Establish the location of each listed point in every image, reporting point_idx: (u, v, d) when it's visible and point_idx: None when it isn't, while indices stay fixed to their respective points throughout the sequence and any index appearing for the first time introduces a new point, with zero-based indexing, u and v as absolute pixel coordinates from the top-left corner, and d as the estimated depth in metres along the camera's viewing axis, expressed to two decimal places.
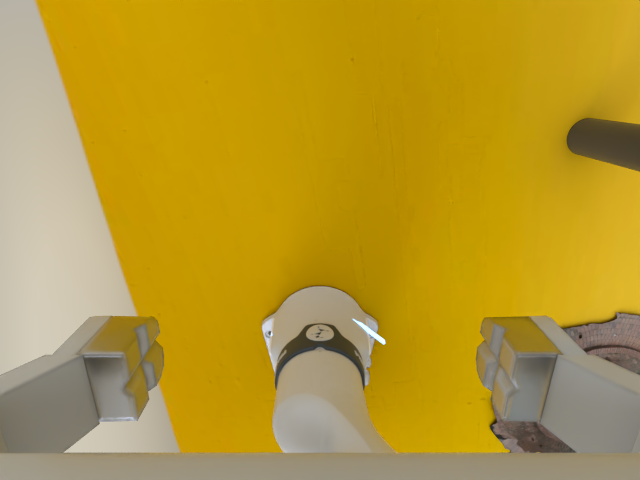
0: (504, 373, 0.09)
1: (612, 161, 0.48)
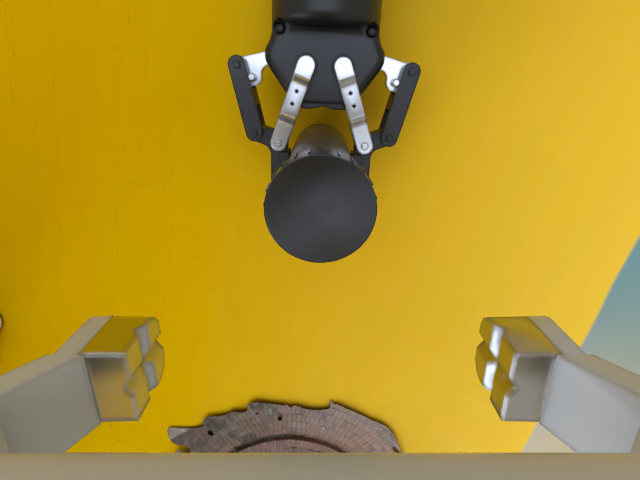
0: (503, 373, 0.09)
1: None
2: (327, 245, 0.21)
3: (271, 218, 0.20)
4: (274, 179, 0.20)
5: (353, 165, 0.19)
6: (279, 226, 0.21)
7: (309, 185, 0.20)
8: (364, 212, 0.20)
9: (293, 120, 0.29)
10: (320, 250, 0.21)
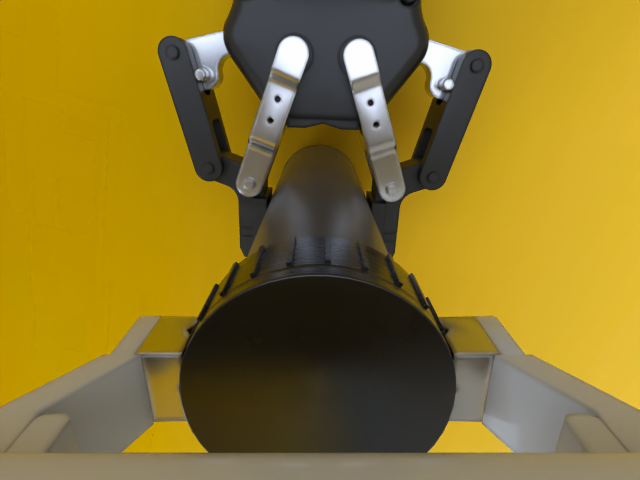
0: None
1: None
2: None
3: (199, 413, 0.08)
4: (200, 331, 0.08)
5: (403, 299, 0.07)
6: (219, 428, 0.09)
7: (288, 345, 0.08)
8: (424, 401, 0.08)
9: (273, 148, 0.17)
10: None
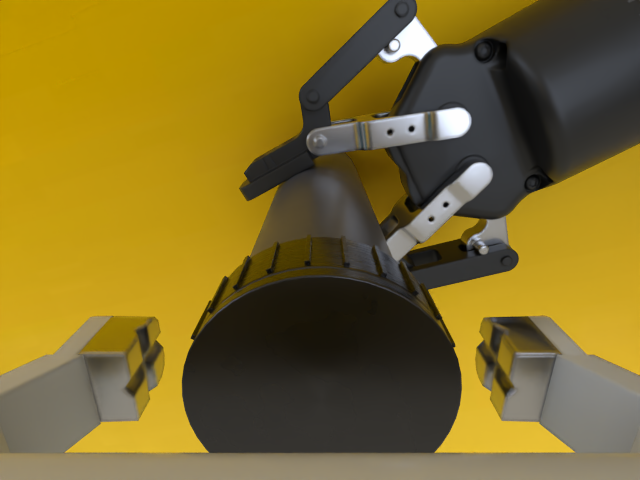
0: (503, 373, 0.09)
1: (274, 199, 0.18)
2: None
3: (224, 451, 0.09)
4: (185, 378, 0.08)
5: (349, 279, 0.07)
6: None
7: (268, 362, 0.08)
8: (425, 366, 0.08)
9: (366, 147, 0.17)
10: None
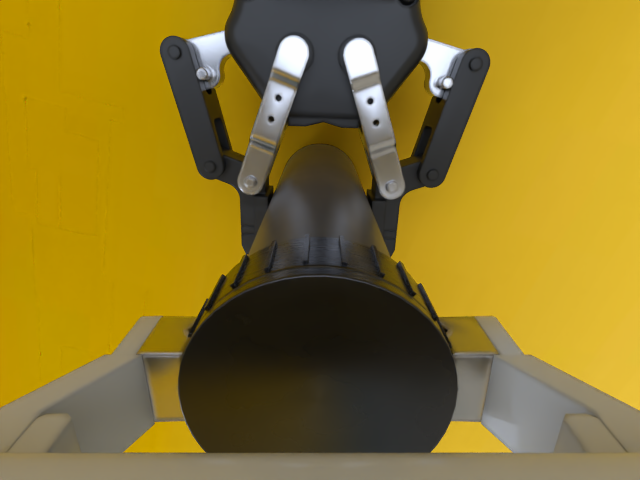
0: None
1: None
2: (410, 394, 0.08)
3: None
4: None
5: (204, 322, 0.08)
6: None
7: (252, 415, 0.08)
8: (333, 306, 0.07)
9: (274, 146, 0.17)
10: (420, 409, 0.08)
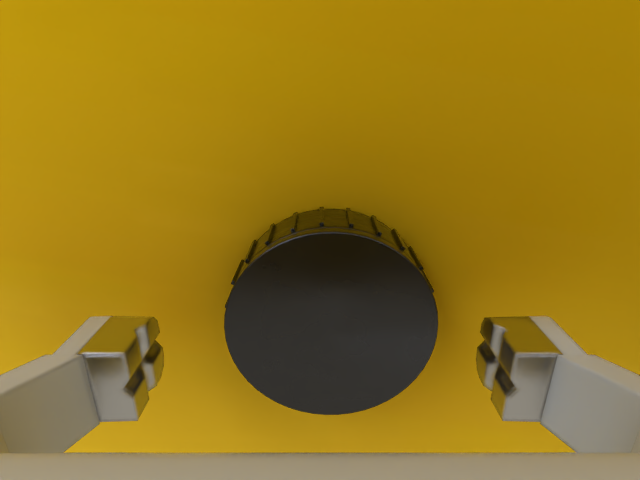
0: (504, 373, 0.09)
1: None
2: (401, 327, 0.11)
3: (334, 406, 0.12)
4: (265, 393, 0.11)
5: (246, 270, 0.10)
6: (350, 397, 0.11)
7: (280, 345, 0.11)
8: (343, 256, 0.10)
9: None
10: (409, 339, 0.11)
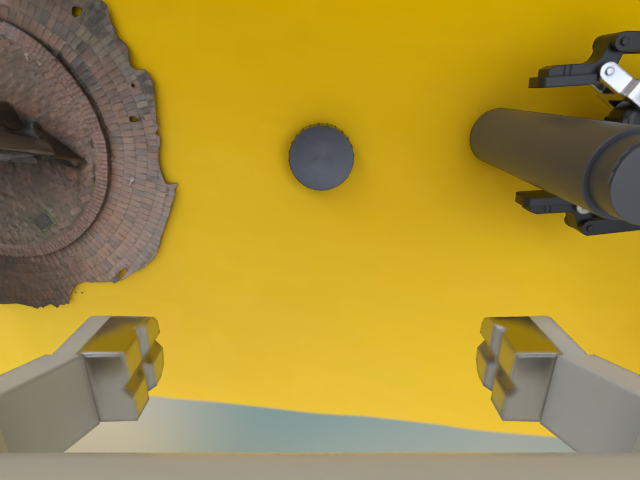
0: (504, 373, 0.09)
1: (531, 121, 0.28)
2: (342, 157, 0.35)
3: (322, 186, 0.36)
4: (300, 181, 0.36)
5: (296, 137, 0.35)
6: (327, 183, 0.36)
7: (305, 163, 0.36)
8: (324, 133, 0.35)
9: (627, 94, 0.27)
10: (345, 161, 0.36)
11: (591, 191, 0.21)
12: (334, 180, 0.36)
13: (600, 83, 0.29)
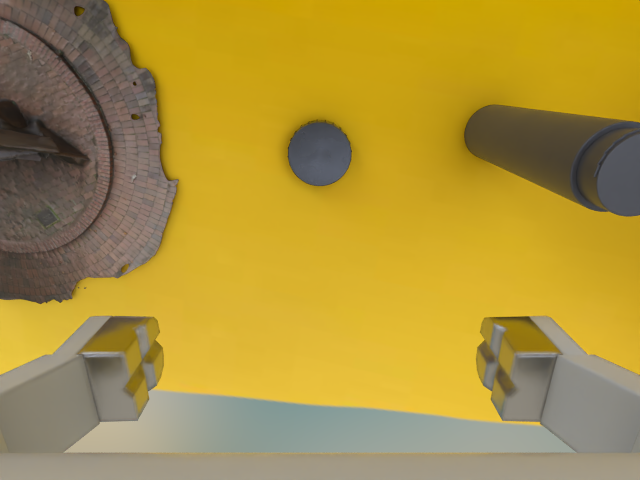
0: (504, 373, 0.09)
1: (523, 117, 0.29)
2: (340, 153, 0.36)
3: (320, 182, 0.37)
4: (299, 177, 0.37)
5: (295, 134, 0.36)
6: (325, 178, 0.37)
7: (304, 159, 0.36)
8: (323, 130, 0.35)
9: None
10: (343, 157, 0.36)
11: (579, 184, 0.22)
12: (332, 176, 0.37)
13: None
